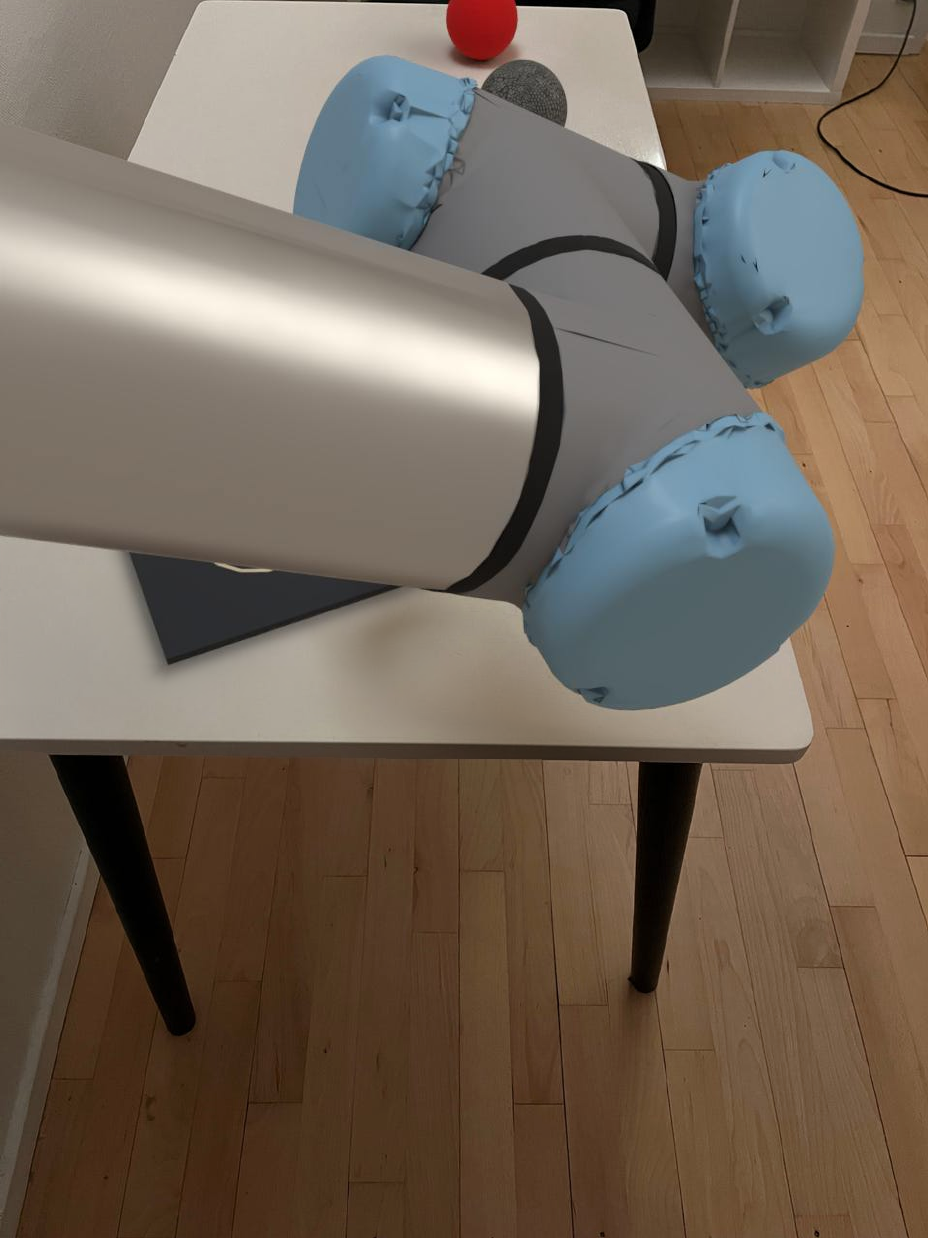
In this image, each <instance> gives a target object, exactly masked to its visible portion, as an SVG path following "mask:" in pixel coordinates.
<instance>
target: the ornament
mask: <svg viewBox="0 0 928 1238" xmlns="http://www.w3.org/2000/svg"><path fill="white" fill-rule="evenodd" d="M445 13H446V14H445V25H446V30H447V33H448V36H449V39H450V40H451V43H452V44H453V45H454V47H455V48H456V49H457V51H458V52H460V53H461V54H463V55H464V56H466V57H467V58H470V59H473V60H477V61H486V60H490V59H493V58H497V57H498V56H500V55H501V54H502V53H503V52H505V50H506V49H507V48H509V46H511V43H512V41H513V40H514V38H515V35H516V32H517V29H518V24H519V17H518V7H517V4H516V1H515V0H449V1H448V4H447V7H446V12H445Z"/></svg>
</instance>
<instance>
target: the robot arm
mask: <svg viewBox="0 0 928 1238" xmlns="http://www.w3.org/2000/svg"><path fill="white" fill-rule="evenodd" d="M301 160H302V161H301V163H300V167H299V172H298V177H297V181H296V186H295V191H294V199H293V206H292V213H291V212H288V211H285V210H282V209H279V208H275V207H273V206H269V205H266V204H263V203H260V202H258V201H254V200H251V199H247V198H245V197H241V196H238V195H235V194H232V193H229V192H226V191H222V190H220V189H216V188H213V187H210V186H207V185H204V184H200V183H198V182H194V181H191V180H189V179H185V178H182V177H179V176H176V175H173V174H169V173H167V172H163V171H161V170H157V169H154V168H151V167H148V166H145V165H143V164H138V163H136V162H133V161H129V160H125V159H123V158H119V157H116V156H113V155H110V154H107V153H104V152H101V151H97V150H95V149H92V148H88V147H85V146H82V145H79V144H76V143H72V142H70V141H66V140H64V139H61V138H57V137H54V136H51V135H47V134H45V133H42V132H39V131H35V130H32V129H30V128H26V127H23V126H19V125H17V124H15V123H10V122H7V121H4V120H1V119H0V537H6V538H13V539H22V540H30V541H38V542H46V543H54V544H55V543H56V544H62V545H69V546H77V547H86V548H94V549H102V550H110V551H118V552H127V553H130V552H133V553H141V554H149V555H157V556H165V557H173V558H181V559H189V560H197V561H205V562H213V563H221V564H229V565H237V566H245V567H253V568H261V569H269V570H277V571H285V572H293V573H301V574H309V575H317V576H325V577H333V578H341V579H349V580H357V581H365V582H373V583H381V584H389V585H397V586H400V587H405V588H412V589H413V588H414V589H420V590H423V591H428V592H433V593H443V594H451V595H455V596H461V597H468V598H473V599H482V600H489V601H497V602H504V603H505V602H506V603H508V604H511V605H513V606H515V607H516V608H518V609H519V610H520V611H521V614H522V626H523V634H525V635H526V638H527V640H528V643H529V644H531V645H532V646H533V647H535V648H536V649H537V651H538V652H539V654H540V656H541V658H542V659H543V660H544V663H545V664H546V666H547V667H548V669H549V670H550V672H551V674H552V675H553V677H554V678H556V680H557V681H559V682H560V684H562V686H564V687H565V688H566V689H568V690H569V691H571V692H572V693H574V694H577V695H579V696H581V697H582V699H584V701H585V702H586V703H588V704H590V705H594V706H596V707H599V708H604V709H608V710H615V711H645V710H655V709H656V710H657V709H661V708H666V707H670V706H671V707H672V706H674V705H679V704H683V703H687V702H690V701H693V700H696V699H699V698H701V697H705V696H706V695H709V694H711V693H714V692H717V691H719V690H720V689H722V688H724V687H726V686H729V685H730V684H732V683H734V682H735V681H738V680H739V679H741V678H743V677H745V676H746V675H748V674H749V673H751V672H752V671H754V670H755V669H757V668H759V666H761V665H762V664H764V663H765V662H767V661H768V660H769V659H771V658H772V657H773V656H774V655H776V654H777V653H778V652H780V648H781V646H782V645H783V644H785V642H786V641H787V640H788V639H789V638H790V637H791V636H792V635H793V634H794V633H795V632H797V630H799V629H800V628H801V627H802V626H803V625H804V624H805V623H806V622H807V621H809V619H810V618H811V616H812V615H813V614H814V612H815V611H816V609H817V608H818V606H819V605H820V603H821V601H822V600H823V598H824V596H825V593H826V590H827V588H828V585H829V583H830V581H831V577H832V573H833V570H834V564H835V563H834V562H835V552H836V545H835V538H834V531H833V528H832V525H831V522H830V520H829V517H828V514H827V512H826V510H825V508H824V506H823V505H822V503H821V502H820V500H819V498H818V497H817V496H816V494H815V492H814V491H813V489H812V487H811V486H810V485H809V482H808V481H807V479H806V477H805V476H804V474H803V472H802V470H801V469H800V467H799V465H798V464H797V462H796V461H795V459H794V457H793V455H792V453H791V452H790V449H788V448H789V447H788V446H787V439H786V434H785V431H784V429H783V427H782V426H781V425H780V424H779V422H777V421H776V420H775V419H774V418H773V417H772V416H771V415H770V413H767V412H764V411H763V410H762V408H761V407H760V406H759V405H758V403H757V402H756V400H755V399H754V398H753V397H752V395H751V394H750V392H749V391H748V389H749V390H754V389H755V390H756V389H757V390H759V389H761V388H763V387H764V388H765V387H766V386H767V385H771V384H772V383H773V382H774V381H775V380H777V379H780V378H781V377H784V376H785V375H788V374H789V373H792V372H794V371H796V370H799V369H801V368H803V367H805V366H807V365H809V364H811V363H814V362H816V361H818V360H820V359H822V358H825V357H826V356H828V355H830V354H831V353H833V352H834V351H835V350H836V349H837V348H838V347H840V346H841V345H842V344H843V343H844V342H845V340H846V339H847V338H848V336H849V335H850V333H851V332H852V331H853V328H854V327H855V325H856V323H857V320H858V318H859V315H860V313H861V309H862V305H863V301H864V296H865V287H866V286H865V280H864V263H865V260H866V259H865V253H864V246H863V241H862V238H861V237H862V236H861V234H860V230H859V227H858V224H857V222H856V219H855V217H854V214H853V212H852V210H851V208H850V205H849V204H848V202H847V200H846V198H845V196H844V195H843V193H842V192H841V190H840V189H839V188H838V186H837V185H836V183H835V181H833V179H832V178H831V177H830V176H829V175H828V174H827V172H825V171H824V170H823V169H822V168H821V167H819V166H818V165H817V164H816V163H814V161H812V160H810V159H809V158H807V157H805V156H803V155H801V154H798V153H797V152H792V151H789V150H784V149H779V150H763V151H762V150H761V151H758V152H756V153H753V154H750V155H748V156H747V157H744V158H742V159H740V160H738V161H735V162H734V163H731V162H726V163H725V164H723V165H721V166H716V167H715V168H714V169H713V170H711V171H709V173H708V174H707V176H706V178H704V179H703V180H688V179H685V178H683V177H682V176H679V175H677V174H675V173H673V172H670V171H668V170H666V169H664V168H662V167H659V166H657V165H655V164H652V163H650V162H648V161H642V160H638V159H636V158H633V157H631V156H628V155H626V154H623V153H621V152H619V151H617V150H615V149H613V148H610V147H608V146H606V145H604V144H602V143H600V142H597V141H595V140H593V139H591V138H588V137H586V136H585V135H582V134H580V133H577V132H575V131H574V130H571V129H569V128H567V127H566V126H565V127H563V126H560V125H558V124H556V123H554V122H552V121H550V120H547V119H545V118H543V117H541V116H539V115H537V114H534V113H532V112H530V111H528V110H526V109H523V108H521V107H519V106H517V105H515V104H513V103H510V102H508V101H506V100H504V99H502V98H500V97H497V96H495V95H493V94H491V93H489V92H486V91H484V90H482V89H481V87H478V83H477V80H475V79H474V78H471V77H469V76H466V77H462V78H459V77H456V76H453V75H450V74H449V73H445V72H441V71H439V70H436V69H434V68H430V67H427V66H425V65H422V64H418V63H416V62H413V61H411V60H407V59H405V58H401V57H399V56H394V55H390V54H388V55H387V54H386V55H384V54H383V55H374V56H371V57H368V58H365V59H363V60H362V61H360V62H359V63H357V64H356V65H354V66H353V67H352V68H350V69H349V70H348V71H347V73H345V75H343V76H342V78H341V79H340V80H339V81H338V82H337V84H336V85H335V86H334V87H333V89H332V90H331V92H330V94H329V95H328V96H327V98H326V100H325V102H324V104H323V106H322V107H321V109H320V112H319V114H318V116H317V118H316V120H315V123H314V125H313V128H312V130H311V133H310V135H309V137H308V141H307V143H306V145H305V150H304V153H303V156H302V159H301Z"/></svg>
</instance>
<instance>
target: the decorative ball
mask: <svg viewBox="0 0 928 1238" xmlns="http://www.w3.org/2000/svg"><path fill="white" fill-rule="evenodd" d="M480 89H482V90H484V91H486V92H489V93H491V94H493V95H495V96H497V97H500V98H502V99H504V100H506V101H508V102H510V103H513V104H515V105H517V106H519V107H521V108H523V109H526V110H528V111H530V112H532V113H534V114H537V115H539V116H541V117H543V118H545V119H547V120H550V121H552V122H554V123H556V124H558V125H560V126H563V127H565V128H566V123H567V118H568V100H567V99H568V98H567V95H566V92H565V89H564V87H563V85H562V83H561V81H560V79H559V78H558V76H557V75H556V74H555V72H553V71H552V70H551V69H550V68H548V67H547V66H546V65H544V64H542V63H541V62H538V61H535V60H531V59H515V60H511V61H510V60H509V61H508V62H505V63H503V64H501V65H499V66H498V67H496V68H495V69H494V70H493V71H491V72H490V74H489V75H487V77H486V78H485V80H484V82H483V84H482V85H481V87H480Z"/></svg>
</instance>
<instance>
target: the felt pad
mask: <svg viewBox="0 0 928 1238" xmlns="http://www.w3.org/2000/svg"><path fill="white" fill-rule="evenodd" d="M129 554H130V558H131V560H132V564H133V566H134V569H135V573H136V576H137V579H138V581H139V584H140V587H141V590H142V593H143V596H144V599H145V601H146V604H147V608H148V610H149V613H150V617H151V619H152V622H153V625H154V628H155V631H156V633H157V636H158V639H159V642H160V645H161V648H162V651H163V654H164V657H165V660H166V662H167V664H173V663H175V662H178V661H182V660H184V659H187V658H191V657H193V656H196V655H199V654H202V653H206V652H209V651H211V650H213V649H217V648H220V647H224V646H226V645H229V644H232V643H235V642H238V641H241V640H244V639H247V638H250V637H254V636H256V635H259V634H262V633H265V632H268V631H271V630H274V629H278V628H280V627H283V626H286V625H289V624H292V623H295V622H299V621H301V620H304V619H308V618H310V617H314V616H315V615H319V614H323V613H325V612H328V611H331V610H335V609H338V608H341V607H344V606H346V605H349V604H353V603H355V602H358V601H360V600H364V599H368V598H370V597H373V596H375V595H380V594H382V593H386V592H388V591H391V590H394V589H397V588H400V587H401V586H397V585H389V584H381V583H373V582H365V581H357V580H349V579H341V578H333V577H325V576H317V575H309V574H301V573H293V572H285V571H277V570H269V569H261V568H253V567H245V566H237V565H229V564H221V563H213V562H205V561H197V560H189V559H181V558H173V557H165V556H157V555H149V554H141V553H133V552H129Z"/></svg>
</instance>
